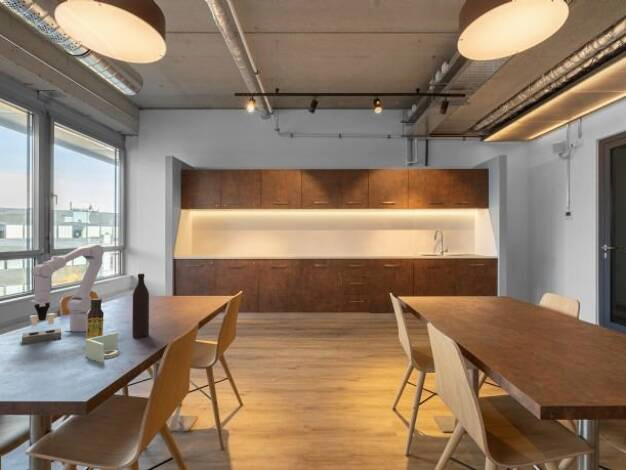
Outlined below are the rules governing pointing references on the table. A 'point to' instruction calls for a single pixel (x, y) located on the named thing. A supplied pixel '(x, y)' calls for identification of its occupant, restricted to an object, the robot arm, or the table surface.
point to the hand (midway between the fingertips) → (42, 319)
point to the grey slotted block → (41, 336)
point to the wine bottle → (140, 309)
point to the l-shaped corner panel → (102, 347)
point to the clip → (48, 316)
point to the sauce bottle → (95, 319)
